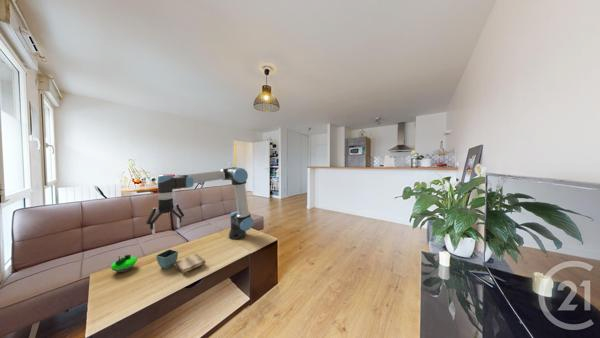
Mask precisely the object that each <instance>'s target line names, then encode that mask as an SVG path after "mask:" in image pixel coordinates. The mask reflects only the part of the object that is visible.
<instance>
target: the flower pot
mask: <svg viewBox="0 0 600 338" xmlns="http://www.w3.org/2000/svg"><path fill="white" fill-rule="evenodd" d="M178 256H179V251H178V250H174V249H170V248H169V249H167V250H165V251H163V252H160V253H159V254H156V260H157V264H158V266H159V267H160V268H162V269H165V270H168V269H170V268H171V267H173V266H174V265H175V262H177V261H178Z"/></svg>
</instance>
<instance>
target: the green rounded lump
mask: <svg viewBox="0 0 600 338" xmlns="http://www.w3.org/2000/svg"><path fill="white" fill-rule="evenodd" d="M137 261H138V257H135V256H131V254H125V255H124V257H121V258H120V256H119V255H118V259H117V260H116V261H114V262H113V263H112V264H111V266H110V269H111V270H112V271H115V272H116V273H117V272H118V273H125V272H127V271H129V270H130V269H132V268H133V267H134V265H136V263H137Z"/></svg>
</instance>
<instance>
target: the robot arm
mask: <svg viewBox="0 0 600 338" xmlns="http://www.w3.org/2000/svg"><path fill="white" fill-rule="evenodd" d="M248 178H249V174H248V172H247V170H246V169H245V168H242V167H236V166H235V167H233V166H232V167H227V168H221V169H220V170H215V171H214V170H213V171H206V172H197V173H190V174H182V175H181V174H177V175H175V176H173V175H172V174H160V175H158V177H157V193H158V195H157V196H158V200H157V203H158V207H152V209H151V212H150V214H149V216H148V217H147V220H146V222H145V224H147V225H149V229H150V230H151V234H152V235H156V227H155V226H156V224H155V222H156V221H157V220H158V219H159V218H160V216H162V214H167V213H169V214H170V213H172V214H173V215H174V216H176V227H177V228H178V229H180V228H181V225H180V223H182V218H183V217H185V214H184V213H183V211H182V209H181V208H180V206H179V204H178V203H175V204H174V198H173V197H174V193H173V192H174V191H173V190H175V189H188V188H192V187H194V185H195V184H200V183H201V184H202V183H207V182H212V181H213V182H214V181H219V180H220V181H231V185H232V186H233V187H234V195H235V201H236V203H235V204H236V209H237V210H236V211H231V212H230V217H229V218H230V230H229V233H228V238H229V239H231V240H240V239H243V238H245V237H246V236H247V233H246V231H249V230H250V229H252V228H253V226H254V219H253V217H252V215H251V212H250V211H249V208H248V199H247V192H246V184H247V180H248ZM174 208H175V209H176V210H177V211H178V212H176V211H175V210H174ZM156 212H157V213H156Z"/></svg>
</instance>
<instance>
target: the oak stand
mask: <svg viewBox="0 0 600 338" xmlns="http://www.w3.org/2000/svg"><path fill="white" fill-rule="evenodd" d="M174 265H175V268H176V270H179V271H181V272H182V275H183V276H186V275H188V273H189V272H190V271H191V270H194V269H195V268H197V267H200V266H201V268H204V267H205V265H206V260H205V259H204V258H203V257H202V256H201V255H199V254H198V253H195V254H192V255H190V256H188V257H185V258H182V259H180V260H177V261H176V262H175V264H174ZM203 266H204V267H203ZM188 271H189V272H188Z"/></svg>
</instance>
